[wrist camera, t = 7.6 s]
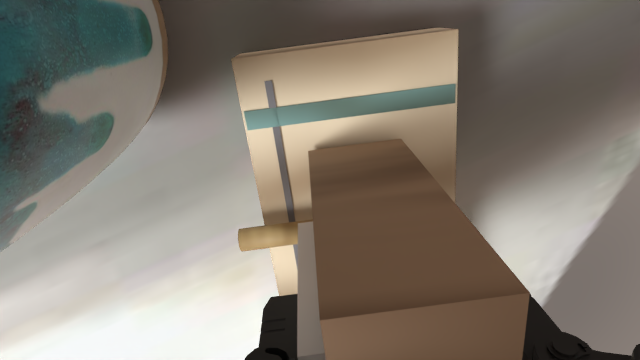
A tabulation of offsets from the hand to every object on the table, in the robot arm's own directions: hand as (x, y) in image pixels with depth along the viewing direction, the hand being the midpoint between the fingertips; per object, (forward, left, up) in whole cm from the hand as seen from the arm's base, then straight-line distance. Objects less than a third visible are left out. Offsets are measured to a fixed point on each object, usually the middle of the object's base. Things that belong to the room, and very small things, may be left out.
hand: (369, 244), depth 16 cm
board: (+4, 0, -5) cm, 7 cm away
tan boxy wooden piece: (0, -2, -2) cm, 3 cm away
